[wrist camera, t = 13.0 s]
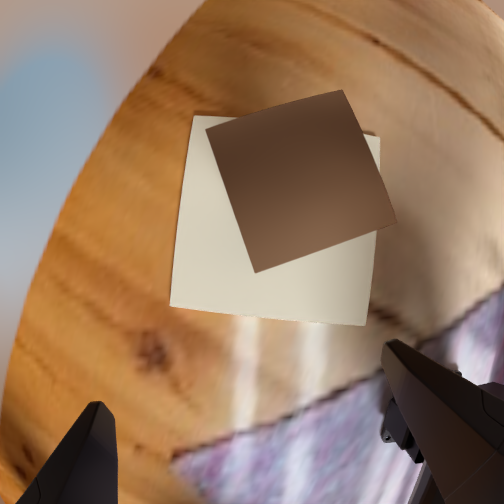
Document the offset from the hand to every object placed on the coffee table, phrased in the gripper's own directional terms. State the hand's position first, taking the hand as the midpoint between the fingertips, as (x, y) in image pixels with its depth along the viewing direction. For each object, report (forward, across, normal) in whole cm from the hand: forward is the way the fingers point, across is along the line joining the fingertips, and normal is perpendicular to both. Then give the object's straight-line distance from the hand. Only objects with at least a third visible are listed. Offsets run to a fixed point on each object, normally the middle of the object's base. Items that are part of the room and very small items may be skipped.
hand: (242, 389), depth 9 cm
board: (+15, -4, +1) cm, 15 cm away
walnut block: (+14, -4, +1) cm, 15 cm away
